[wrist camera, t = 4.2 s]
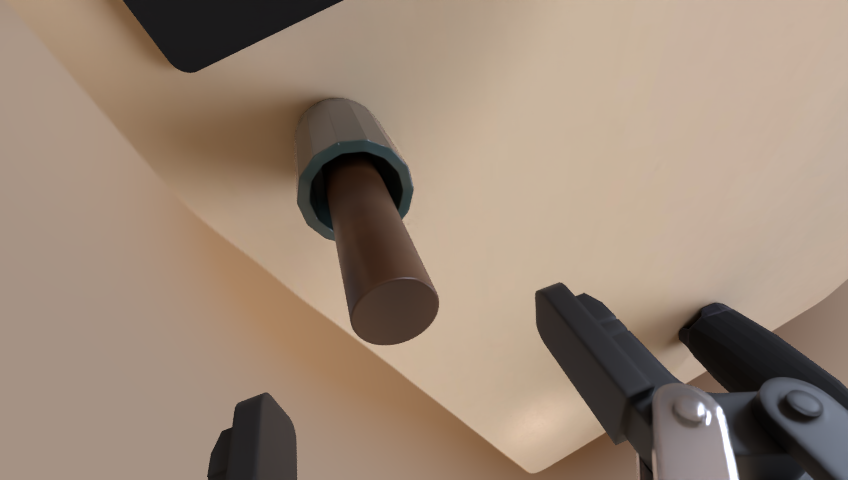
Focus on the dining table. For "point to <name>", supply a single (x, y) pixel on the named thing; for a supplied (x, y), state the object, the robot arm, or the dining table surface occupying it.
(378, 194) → the stirring stick
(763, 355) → the portable speaker
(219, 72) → the dining table surface
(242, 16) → the smartphone
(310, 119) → the holder
